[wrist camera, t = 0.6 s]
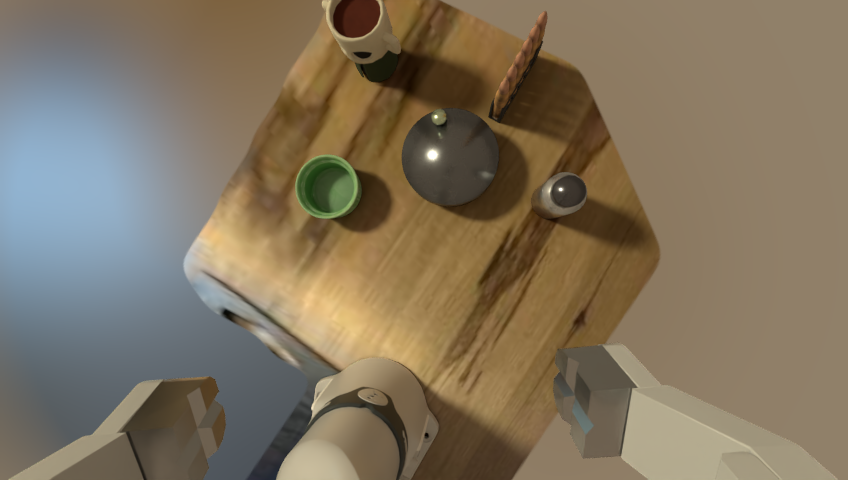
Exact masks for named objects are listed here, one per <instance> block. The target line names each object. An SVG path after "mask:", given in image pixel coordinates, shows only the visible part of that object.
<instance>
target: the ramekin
mask: <svg viewBox="0 0 848 480" xmlns="http://www.w3.org/2000/svg"><path fill="white" fill-rule="evenodd" d="M361 194H362V186H361V182H360V179H359V177H358V176H357V174H356V172H355V170H354V169H353V167H352V166H351V165H350V164H349V163H348V162H347V161H346V160H344V159H343V158H341V157H338V156H335V155H320V156H317V157H315V158H313V159H311V160H309V161H308V162H307V163H306V164H305V165H304V166H303V167H302V168H301V170H300V172H299V174H298V176H297V179H296V195H297V199H298V201H299V203H300V205H301V206H302V208H303V209H304V210H305V211H306V212H307V213H309V214H310V215H312V216H314V217H317V218H322V219H332V218H338V217H343V216H345V215H347V214H349V213H351V212H352V211H353V210H354V209H355V208H356V207H357V205H358V203H359V201H360V198H361Z"/></svg>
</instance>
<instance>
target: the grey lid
mask: <svg viewBox="0 0 848 480" xmlns="http://www.w3.org/2000/svg"><path fill="white" fill-rule="evenodd" d="M498 162H499V149H498V144H497V140H496V138H495V135H494V133H493V132H492V130H491V128H490V127H489V126H488V125H487V123H486V122H485V121H483V120H482V119H481V118H480V117H478V116H477V115H475V114H473V113H471V112H469V111H466V110H463V109H457V108H445V109H437V110H435V111H433V112H431V113H429V114H427V115H426V116H424V117H422V118H421V119H420V120H419V121H418V122H417V123H416V124H415V125H414V126H413V127H412V128H411V130H410V131H409V133H408V135H407V137H406V139H405V142H404V145H403V150H402V165H403V170H404V173H405V176H406V178H407V180H408V182H409V183H410V185H411V186H412V187H413V189H414V190H415V191H416V192H417V193H418V194H419V195H420V196H421V197H423V198H424V199H425V200H427V201H429V202H431V203H433V204H436V205H440V206H447V207H454V206H460V205H464V204H467V203H469V202H471V201H473V200H475V199H476V198H478V197H479V196H480V195H482V194H483V193H484V192H485V191H486V189H487V188H488V187H489V185H490V184H491V182H492V180H493V178H494V176H495V173H496V171H497V167H498Z"/></svg>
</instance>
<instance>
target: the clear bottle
mask: <svg viewBox="0 0 848 480" xmlns="http://www.w3.org/2000/svg"><path fill="white" fill-rule="evenodd" d="M586 198H587V188H586V185H585V183H584V181H583V180H582V179H581V178H580V177H579V176H577V175H575V174H573V173H568V172H563V173H559V174H556V175H554V176H553V177H552V178H550V179H549V180H548V181H546V182H545V183H544V184H542V185H541V186H540V187H538V188H537V189H536V190H535V191H534V193H533V195H532V198H531V205H532V208H533V210H534V212H535V213H536V214H537V215H538V216H540V217H542V218H545V219H554V218H557V217H560V216H564V215H567V214H571V213H574V212H576V211H578V210H579V209H580V208H581V207H582V206H583V205H584V203H585V201H586Z"/></svg>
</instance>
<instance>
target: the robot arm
mask: <svg viewBox="0 0 848 480" xmlns="http://www.w3.org/2000/svg"><path fill="white" fill-rule="evenodd" d="M555 364H556V366H557V367H558V369H559V371H560V372H559V373H558V374H557V375H556V377H555V378H554V386H553V391H554V398H555V403H556V406H557V409H558V412H559V413H560V415H561V418H562V419H563V420H564V421H566V422H567V423H569V424H570V425H571V430H570V435H571V437H572V439H573V441H574V443H575V444H576V446H577V448H578V450H579V452H580V454H581V456H582V458H597V457H613V456H621V458H622V459H623V460H624V461H626V462H627V463H628V464H629V465H631V466H632V467H633V468H634V469H636V470H637V471H639V472H640V473H641V474H642V475H643V476H644V477H646V478H647V479H648V480H838V479H837V478H836V477H835V476H834V475H832V474H831V473H830V472H829V471H828V470H827V469H825V468H824V467H823V466H822V465H821V464H819V462H817V461H816V460H815V459H814V458H813V457H812V456H810V455H809V454H808V453H807V452H806V451H805V450H803V449H802V448H801V447H800V446H799V445H797V444H795V443H793V442H791V441H789V440H787V439H785V438H783V437H780V436H778V435H776V434H774V433H772V432H769V431H767V430H765V429H763V428H760V427H759V426H756V425H754V424H752V423H750V422H748V421H745V420H743V419H741V418H739V417H737V416H735V415H732V414H730V413H728V412H726V411H724V410H722V409H719V408H717V407H715V406H713V405H711V404H708V403H706V402H704V401H702V400H700V399H698V398H695V397H693V396H691V395H689V394H686V393H685V392H682V391H680V390H678V389H676V388H674V387H671V386H669V385H668V386H662V385H661V384H660V383H659V382H658V381H657V380H656V379H655V378H654V376H653V375H652V374H651V373H650V372H649V371H648V370H647V369H646V368H645V367H644V366H643V365H642V364H641V363H640V361H639V360H638V359H637V358H636V357H635V356H634V355H633V354H632V353H631V352H630V351H629V350H628V349H627V348H626V347H625V346H624V345H623V344H621V343H619V342H618V343H609V344H600V345H596V346H585V347H574V348H562V349H558V350H557V353H556V358H555ZM218 392H219V390H218V387H217V384H216V381H215V379H213V378H212V377H195V378H178V379H167V380H164V379H163V380H151V381H144V382H141V383H139V384H138V385H137V386H136V387H135V388H134V389H133V390H132V391H131V392H130V394H128V396H127V397H126V398H125V399H124V400H123V401H122V402H121V403H120V404H119V406H118V407H117V408H116V409H115V410H114V411H113V412H112V413H111V414H110V415H109V417H108V418H107V419H106V420H105V421H104V422H103V423H102V424H101V425H100V427H99V428H98V429H97V430H96V431H95V432H94V433H93V434H92V435H90V436H83V437H81V438H80V439H78V440H76V441H74V442H73V443H71V444H69V445H67V446H66V447H64V448H62V449H60V450H59V451H57V452H55V453H54V454H52V455H50V456H48V457H47V458H45V459H43V460H41V461H40V462H38V463H36V464H34V465H33V466H31V467H29V468H28V469H26V470H24V471H22V472H21V473H19V474H17V475H15V476H14V477H12V478H10V479H8V480H203V478H204V476H205V474H206V472H207V470H208V469H209V466H208V463H207V458H209V457H210V456H211V455H212V454H214V453H215V452H216V451H217V450H218V448H219V446H220V444H221V442H222V440H223V436H224V431H225V426H226V423H225V413H224V409H223V406H222V405H220V404H219V403H218V402H217V401H215V400H214V399H215V397H216V395H217V393H218ZM311 409H312V410H313V412H312V419H311V421H310V423H309V424H308V427H307V428H306V430H305V432H304V435H303V437H302V438H301V440H300V441H299V442H298V443H297V445H296V446H295V447H294V448H293V449H292V451H291V452H290V453H289V454H288V455H287V457H286V458H285V460H284V461H283V463H282V465H281V467H280V470H279V472H278V475H277V478H276V480H411V478H412V477H413V475H414V473H415V471H416V470H417V468H418V466H419V464H420V463H421V461H422V459H423V457H424V456H425V454H426V452H427V451H428V449H429V447H430V445H431V444H432V442H433V440H434V438H435V437H436V435H437V433H438V430H439V424H438V421H437V420H436V418H435V417H434V415H433V414H432V413H431V411H430V410H429V409H428V406H427V403H426V399H425V396H424V392H423V390H422V387H421V385H420V384H419V382H418V380H417V379H416V378H415V376H414V375H413V374H412V373H411V372H410V371H409V370H408V369H407V368H405V367H404V366H402V365H401V364H399V363H397V362H395V361H392V360H389V359H385V358H366V359H362V360H359V361H357V362H355V363H353V364H351V365H349V366H348V367H347V368H345V369H344V370H343V371H342V372H340V373H339V374H337V375H332V376H328V377H325V378H323V379H321V380H320V381H319V382H318V383H317V385H316V389H315V396H314V403H313V405H312V407H311ZM425 433H428V434H429V436H427V437H426V436H424V435H425Z"/></svg>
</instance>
